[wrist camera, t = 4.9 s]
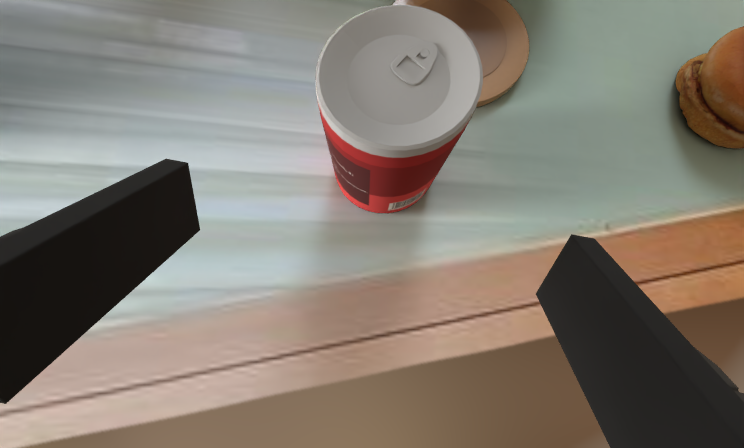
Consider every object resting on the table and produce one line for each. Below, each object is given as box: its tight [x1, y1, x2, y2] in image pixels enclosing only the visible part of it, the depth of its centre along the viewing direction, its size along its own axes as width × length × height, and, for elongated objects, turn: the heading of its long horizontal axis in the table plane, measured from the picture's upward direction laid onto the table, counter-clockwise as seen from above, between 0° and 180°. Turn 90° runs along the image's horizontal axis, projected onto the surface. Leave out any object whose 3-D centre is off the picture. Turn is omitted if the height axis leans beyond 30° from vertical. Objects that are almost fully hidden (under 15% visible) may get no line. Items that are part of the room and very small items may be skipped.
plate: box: [392, 0, 529, 107], centre depth 27 cm, size 13×13×1 cm
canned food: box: [315, 5, 483, 213], centre depth 19 cm, size 8×8×11 cm
